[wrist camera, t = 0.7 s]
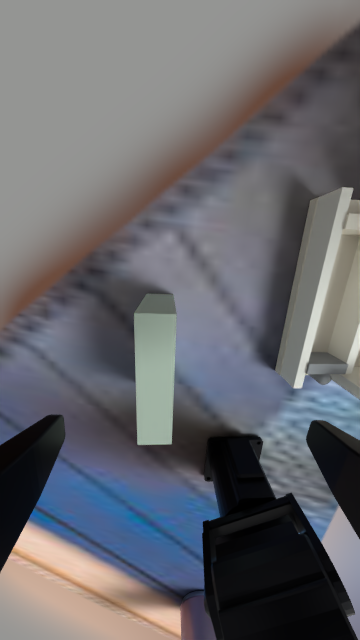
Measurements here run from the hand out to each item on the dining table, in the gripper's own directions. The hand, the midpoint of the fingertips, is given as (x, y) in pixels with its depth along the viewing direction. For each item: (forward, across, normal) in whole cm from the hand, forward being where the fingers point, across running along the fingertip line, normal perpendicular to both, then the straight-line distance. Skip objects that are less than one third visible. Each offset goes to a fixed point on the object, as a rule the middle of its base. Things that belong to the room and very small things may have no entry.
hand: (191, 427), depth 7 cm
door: (+12, +2, +2) cm, 12 cm away
